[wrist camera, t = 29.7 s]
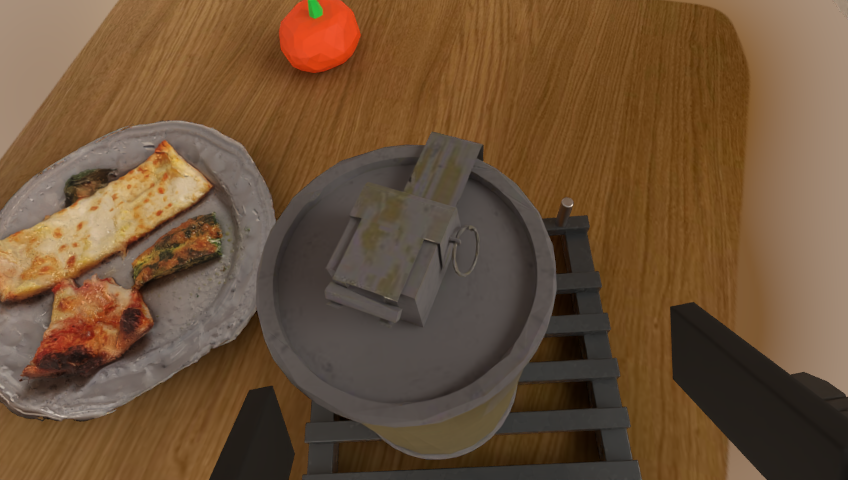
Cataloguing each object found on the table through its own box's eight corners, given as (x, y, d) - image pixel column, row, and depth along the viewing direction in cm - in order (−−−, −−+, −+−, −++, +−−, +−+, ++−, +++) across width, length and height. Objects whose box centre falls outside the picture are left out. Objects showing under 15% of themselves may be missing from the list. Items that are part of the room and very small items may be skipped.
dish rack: (580, 231, 39) (596, 193, 34) (646, 567, 30) (681, 582, 25) (326, 249, 41) (305, 215, 36) (308, 577, 31) (276, 594, 26)
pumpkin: (274, 75, 50) (248, 20, 44) (317, 20, 53) (298, -38, 47) (336, 96, 48) (318, 42, 42) (377, 39, 51) (365, -20, 45)
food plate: (9, 487, 35) (-38, 487, 32) (-42, 235, 44) (-81, 215, 41) (331, 294, 39) (319, 277, 36) (221, 102, 49) (203, 75, 45)
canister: (487, 488, 30) (507, 481, 12) (329, 421, 32) (151, 332, 14) (538, 319, 34) (611, 128, 16) (395, 271, 36) (321, 59, 19)
